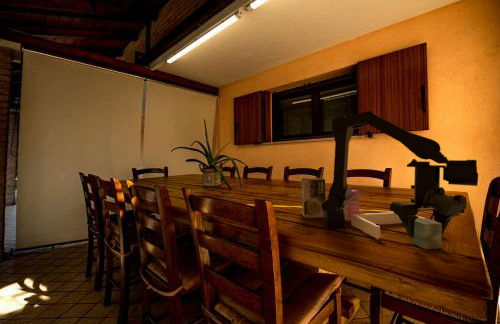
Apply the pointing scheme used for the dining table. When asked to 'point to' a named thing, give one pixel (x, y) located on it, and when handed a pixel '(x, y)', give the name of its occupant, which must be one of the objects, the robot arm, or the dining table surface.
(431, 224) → the block
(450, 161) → the robot arm
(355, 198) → the box
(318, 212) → the coffee box
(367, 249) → the dining table surface
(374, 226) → the wooden frame
